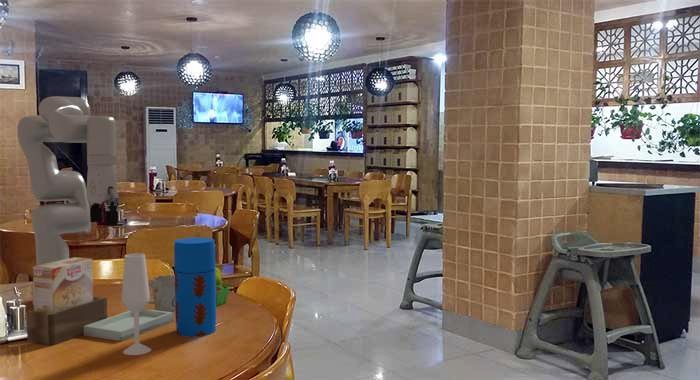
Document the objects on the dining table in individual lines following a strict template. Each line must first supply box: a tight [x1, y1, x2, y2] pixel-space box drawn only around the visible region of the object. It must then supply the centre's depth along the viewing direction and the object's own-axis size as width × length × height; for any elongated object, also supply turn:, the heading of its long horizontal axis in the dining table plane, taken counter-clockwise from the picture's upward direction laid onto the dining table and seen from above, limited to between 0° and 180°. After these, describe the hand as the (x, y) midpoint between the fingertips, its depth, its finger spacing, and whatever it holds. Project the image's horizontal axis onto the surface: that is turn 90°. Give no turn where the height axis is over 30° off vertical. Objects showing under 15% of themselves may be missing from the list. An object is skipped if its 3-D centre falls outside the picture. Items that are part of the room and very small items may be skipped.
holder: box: [25, 296, 108, 347], centre depth 180 cm, size 8×19×8 cm, turn 156°
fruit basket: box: [215, 266, 231, 307], centre depth 215 cm, size 11×9×11 cm
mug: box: [148, 275, 176, 313], centre depth 205 cm, size 8×13×10 cm, turn 78°
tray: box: [83, 308, 174, 342], centre depth 186 cm, size 13×21×2 cm, turn 156°
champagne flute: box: [121, 253, 152, 356], centre depth 166 cm, size 7×7×24 cm
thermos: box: [173, 237, 217, 338], centre depth 183 cm, size 11×11×25 cm
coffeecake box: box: [32, 257, 94, 314], centre depth 181 cm, size 15×7×20 cm, turn 160°
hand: (103, 223), depth 184 cm, fingers open, 9 cm apart
